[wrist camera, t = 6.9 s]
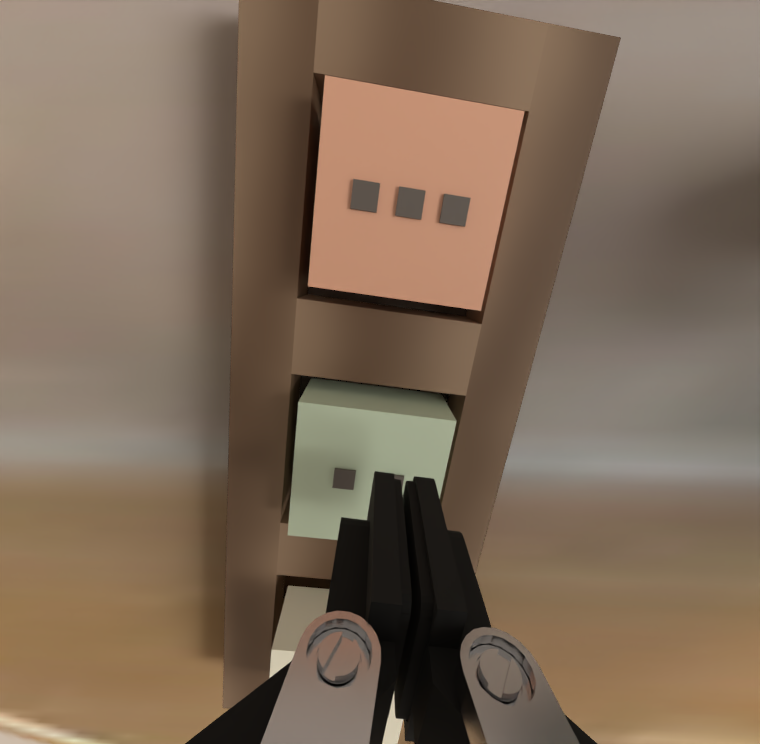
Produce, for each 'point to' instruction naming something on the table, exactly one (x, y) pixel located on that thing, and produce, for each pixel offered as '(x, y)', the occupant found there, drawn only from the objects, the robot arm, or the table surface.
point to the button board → (376, 321)
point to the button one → (293, 621)
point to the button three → (409, 193)
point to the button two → (361, 449)
